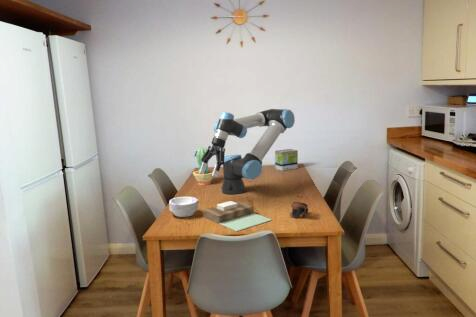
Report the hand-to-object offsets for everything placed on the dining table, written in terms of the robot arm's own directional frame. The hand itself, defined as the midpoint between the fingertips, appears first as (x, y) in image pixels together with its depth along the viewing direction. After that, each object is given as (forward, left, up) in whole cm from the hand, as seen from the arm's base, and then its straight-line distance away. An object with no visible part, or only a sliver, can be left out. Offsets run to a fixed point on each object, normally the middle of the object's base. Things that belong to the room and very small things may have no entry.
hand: (207, 175), depth 219 cm
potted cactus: (-27, -47, -18) cm, 57 cm away
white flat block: (+1, +19, -14) cm, 24 cm away
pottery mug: (-24, +46, -18) cm, 55 cm away
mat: (+1, +34, -18) cm, 39 cm away
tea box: (-98, -39, -18) cm, 107 cm away
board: (+1, +20, -18) cm, 27 cm away
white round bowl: (+17, +2, -18) cm, 25 cm away
